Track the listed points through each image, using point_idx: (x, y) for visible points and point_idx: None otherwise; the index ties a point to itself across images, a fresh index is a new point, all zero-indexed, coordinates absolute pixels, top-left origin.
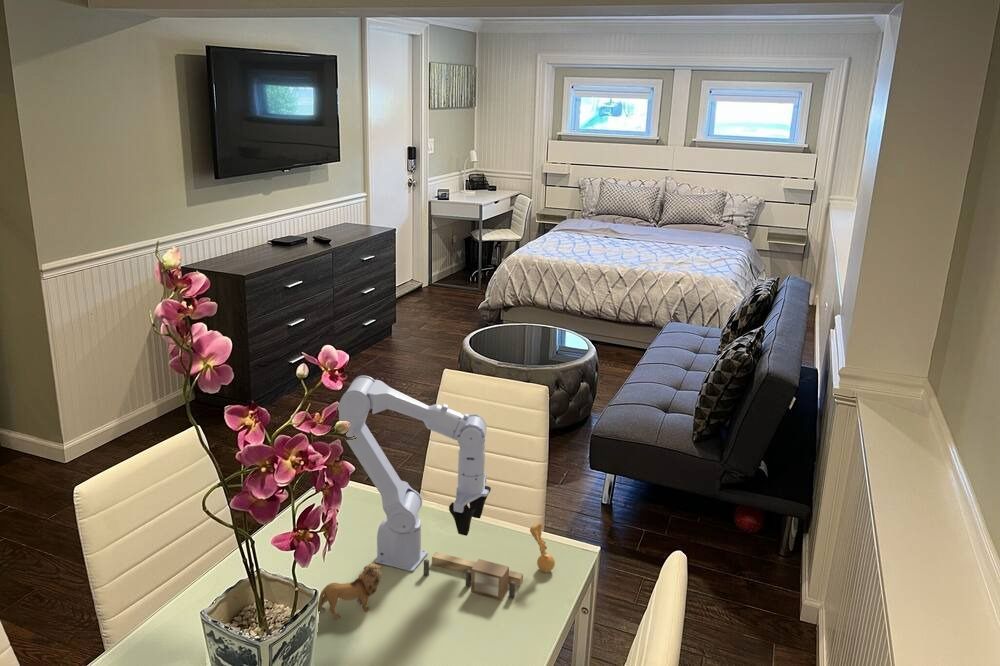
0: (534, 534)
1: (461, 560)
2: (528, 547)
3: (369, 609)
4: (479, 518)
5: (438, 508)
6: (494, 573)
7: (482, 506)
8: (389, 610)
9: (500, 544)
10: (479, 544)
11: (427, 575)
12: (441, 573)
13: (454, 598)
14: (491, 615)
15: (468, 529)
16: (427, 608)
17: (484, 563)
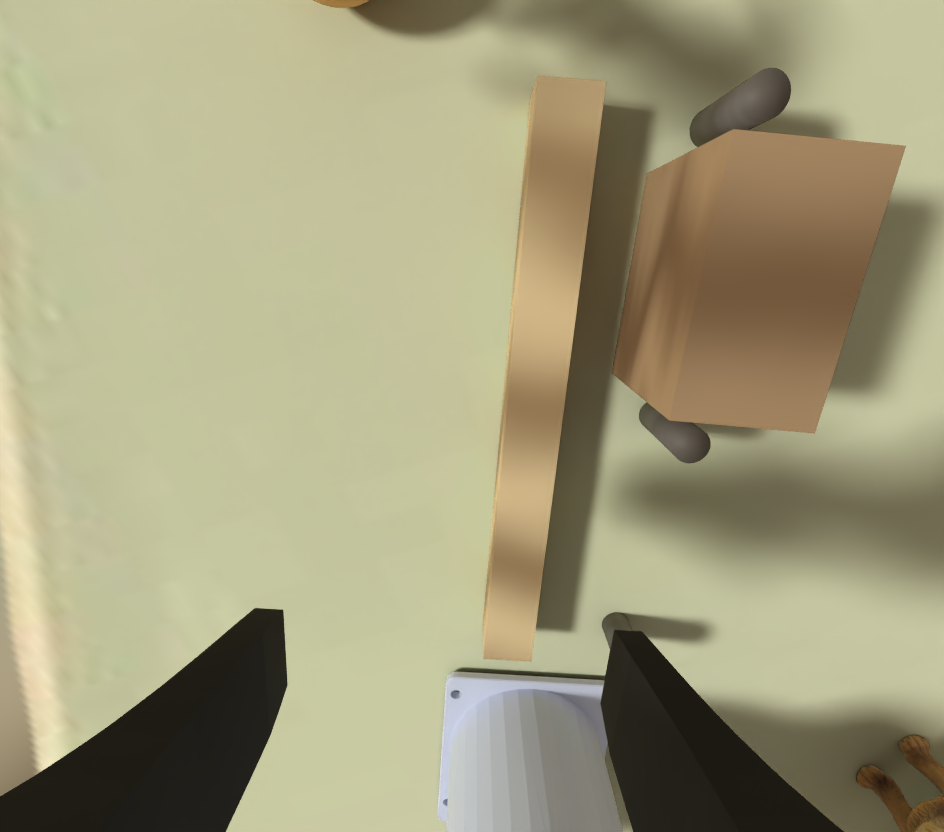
0: None
1: (516, 517)
2: (139, 166)
3: (912, 738)
4: (281, 610)
5: (56, 740)
6: (859, 235)
7: (188, 723)
8: (904, 672)
9: (199, 357)
10: (258, 470)
11: (625, 618)
12: (584, 566)
13: (778, 446)
14: (906, 205)
15: (683, 682)
16: (875, 538)
17: (725, 359)
